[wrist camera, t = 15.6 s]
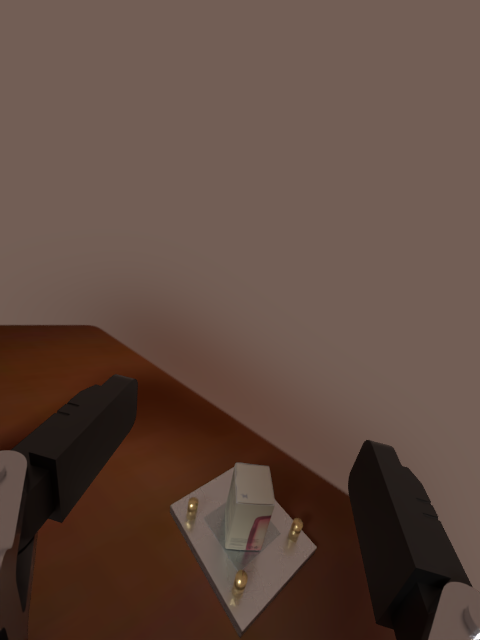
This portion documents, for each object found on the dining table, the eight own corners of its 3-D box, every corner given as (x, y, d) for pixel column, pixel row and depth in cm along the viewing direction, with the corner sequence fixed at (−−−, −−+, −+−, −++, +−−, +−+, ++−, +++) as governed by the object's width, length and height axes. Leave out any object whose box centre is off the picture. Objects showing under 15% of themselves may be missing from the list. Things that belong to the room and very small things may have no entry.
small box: (261, 552, 32) (276, 506, 29) (224, 550, 32) (236, 503, 29) (257, 508, 37) (270, 464, 34) (224, 505, 36) (234, 461, 33)
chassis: (169, 511, 36) (172, 491, 34) (240, 467, 43) (244, 450, 42) (240, 637, 26) (247, 617, 25) (314, 553, 34) (322, 534, 33)
